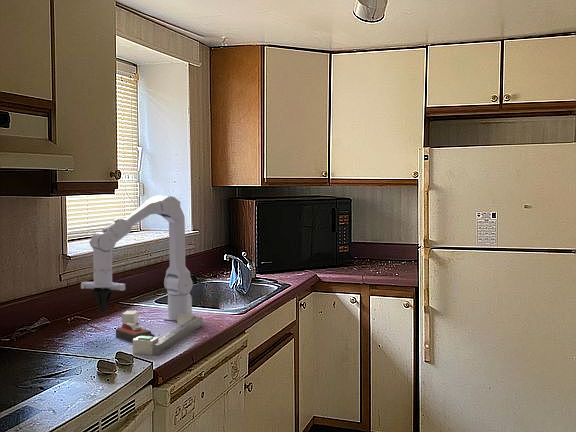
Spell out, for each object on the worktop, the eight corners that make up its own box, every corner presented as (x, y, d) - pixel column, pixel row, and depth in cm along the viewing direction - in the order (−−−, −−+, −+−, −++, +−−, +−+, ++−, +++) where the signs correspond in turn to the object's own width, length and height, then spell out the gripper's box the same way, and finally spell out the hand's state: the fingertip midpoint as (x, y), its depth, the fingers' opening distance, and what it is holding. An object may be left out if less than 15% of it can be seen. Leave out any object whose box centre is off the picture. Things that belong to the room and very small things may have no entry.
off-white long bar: (179, 324, 208) (179, 311, 208) (201, 325, 207) (201, 312, 206) (132, 353, 174) (132, 338, 174) (159, 355, 173) (158, 340, 172)
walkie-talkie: (160, 339, 190) (126, 328, 204) (160, 325, 190) (125, 315, 204) (136, 345, 184) (102, 333, 198) (136, 330, 184) (102, 319, 197)
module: (126, 322, 211) (126, 310, 211) (138, 322, 211) (138, 310, 210) (122, 325, 206) (122, 314, 206) (133, 326, 206) (133, 314, 206)
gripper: (75, 270, 193) (76, 312, 194) (117, 272, 190) (118, 315, 191) (87, 267, 200) (87, 308, 201) (128, 269, 197) (128, 310, 198)
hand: (103, 311), depth 196 cm, fingers closed
